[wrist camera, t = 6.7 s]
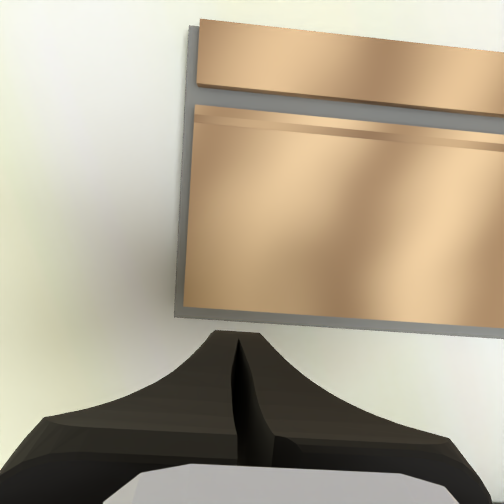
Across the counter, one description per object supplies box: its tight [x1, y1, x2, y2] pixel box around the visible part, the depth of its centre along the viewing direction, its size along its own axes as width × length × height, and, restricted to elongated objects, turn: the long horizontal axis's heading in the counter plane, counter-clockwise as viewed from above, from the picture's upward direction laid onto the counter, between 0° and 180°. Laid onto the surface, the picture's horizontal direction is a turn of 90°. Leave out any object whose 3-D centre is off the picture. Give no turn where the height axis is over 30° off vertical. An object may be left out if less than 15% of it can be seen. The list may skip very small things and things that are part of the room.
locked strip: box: [196, 19, 504, 118], centre depth 16 cm, size 15×2×1 cm, turn 85°
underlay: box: [174, 25, 504, 339], centre depth 18 cm, size 16×12×1 cm
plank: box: [183, 105, 504, 328], centre depth 18 cm, size 15×8×1 cm, turn 85°
